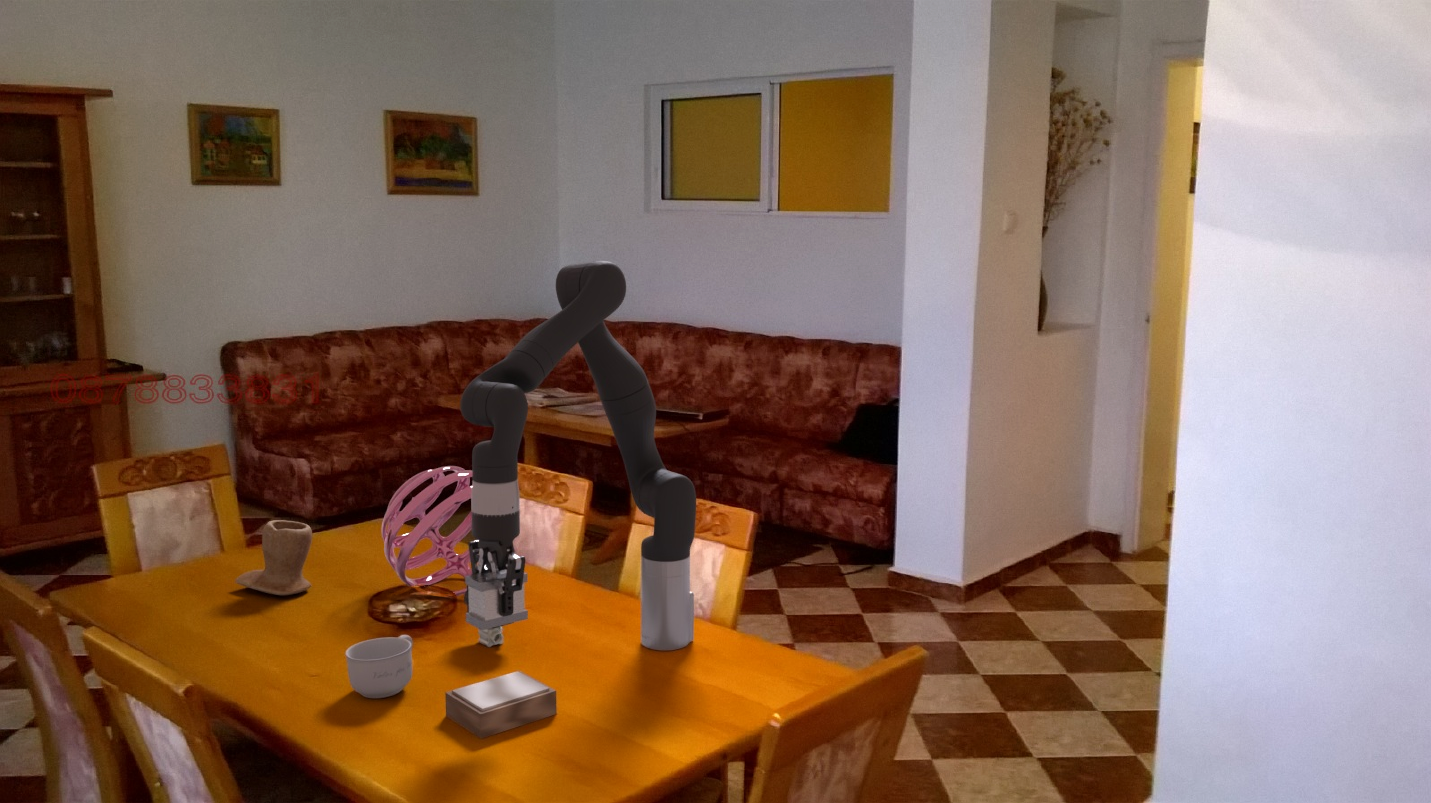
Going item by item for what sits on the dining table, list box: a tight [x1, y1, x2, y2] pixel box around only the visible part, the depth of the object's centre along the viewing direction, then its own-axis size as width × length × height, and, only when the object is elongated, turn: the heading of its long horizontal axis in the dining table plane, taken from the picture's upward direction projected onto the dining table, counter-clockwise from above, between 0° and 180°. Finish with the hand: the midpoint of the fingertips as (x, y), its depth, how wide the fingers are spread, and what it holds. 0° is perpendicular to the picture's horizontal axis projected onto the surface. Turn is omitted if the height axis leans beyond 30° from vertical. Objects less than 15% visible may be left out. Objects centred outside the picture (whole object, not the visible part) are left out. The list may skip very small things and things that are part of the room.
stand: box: [444, 670, 558, 739], centre depth 190 cm, size 14×11×4 cm
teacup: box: [344, 634, 414, 699], centre depth 200 cm, size 14×11×8 cm
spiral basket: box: [381, 465, 473, 597], centre depth 252 cm, size 28×28×27 cm
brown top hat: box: [235, 519, 313, 596], centre depth 251 cm, size 15×12×15 cm
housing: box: [464, 570, 529, 630], centre depth 188 cm, size 8×5×8 cm, turn 131°
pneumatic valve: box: [463, 585, 515, 648], centre depth 222 cm, size 6×12×12 cm, turn 42°
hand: (497, 610), depth 188 cm, fingers closed on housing, 5 cm apart
